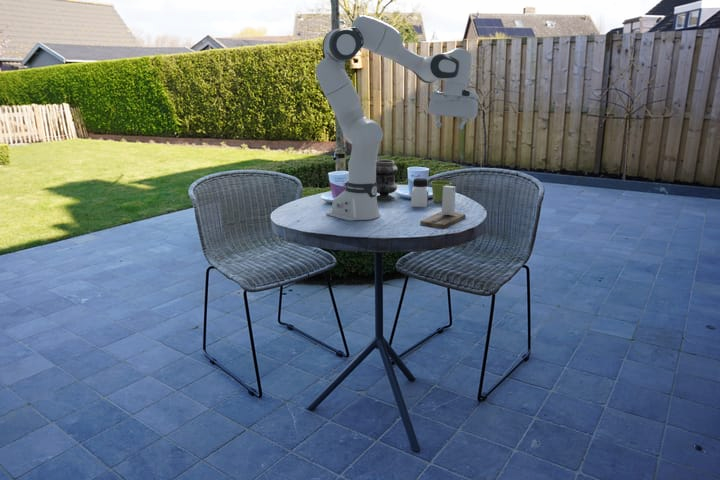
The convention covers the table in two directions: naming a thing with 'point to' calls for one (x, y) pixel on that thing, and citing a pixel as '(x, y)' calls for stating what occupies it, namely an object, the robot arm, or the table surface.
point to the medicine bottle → (419, 193)
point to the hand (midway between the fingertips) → (449, 128)
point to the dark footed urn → (385, 179)
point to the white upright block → (448, 200)
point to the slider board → (442, 220)
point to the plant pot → (438, 189)
